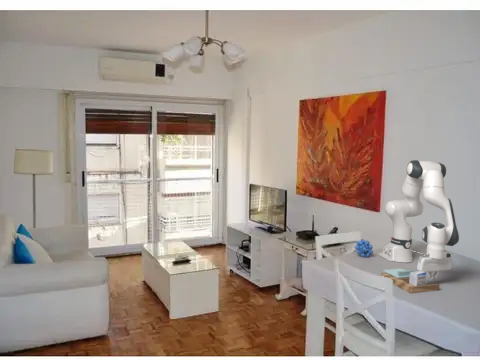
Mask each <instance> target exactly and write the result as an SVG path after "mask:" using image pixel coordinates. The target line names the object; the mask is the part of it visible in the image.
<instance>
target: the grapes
mask: <svg viewBox="0 0 480 360" xmlns="http://www.w3.org/2000/svg"><path fill="white" fill-rule="evenodd" d="M354 249H355V250H356V254H357V255H360V257H362V258H365V257H366V258H370V256H371V255H372V254H374V253H373V252H374V251H373V245H372V244H370V241H369V240H365V239H363V238H361V239H360V240H357V241H356V245H355V246H354Z"/></svg>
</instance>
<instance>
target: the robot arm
mask: <svg viewBox="0 0 480 360" xmlns="http://www.w3.org/2000/svg"><path fill="white" fill-rule="evenodd" d="M446 175H447V167H446V165H445V164H443V163H441V162H435V161H431V160H417V159H416V160H415V159H414V160H413V159H412V160H410V161H409V162H408V164H407V166H406V176H405V177H404V181H403V183H402V187H401V192H402V194H403V196H405V198H404V199H393V200H390V201H389V200H388V201H387V202H386V203H385V205H384V211H385V213H386V215H387V216H388V217H389V218H390V220H391V221H392V230H393V232H392V236H391V237H389V238H390V242H388V243H387V244H386V245H384V246H383V247H382V252H378V255H379V256H380V257H382V258H383V259H385V260H387V261H389V262H396V263H404V264H405V263H412V262H413V260H414V258H413V250H412V249H413V248H412V243H413V240H412V232H413V227H412V225H411V224H410V223H408V222H407V219H406V218H411V217H412V218H413V217H417V216H421V215H422V214H423V212H424V210H425V209H424V204H423V203H422V201H421V199H420V196H421V192H422V196H423V199H424V201H426V202H427V203H428V204H430V205H431V206H434V207H436V208H438V209H440V210H442V212H443V213H444V217H445V220H446V221H445V223H446V225H445V224H443V223H441V222H432V223H430V224H429V225H428V226H425V227H423V228H422V230H421V231H422V233H421V239H422V241H424V242H425V243H426V244H427V246H426V253H425V254H421V255H420V256H419V257H418V261H417V265H416V271H421V272H426V273H428V274H429V279H430V280H435V279H437V276H439V273H440V271H442V272H443V271H450V270H451V269H452V262H453V261H452V260H453V259H452V257H453V254H452V253H451V252H449V251H446V248H445V247H446V246H447V247H448V246H449V247H453V246H455V245H457V244H458V243H459V240H460V235H459V231H458V226H457V222H456V217H455V213H454V212H455V211H454V208H453V204H452V201H451V199H450V198H448V197H447V195H446V192H445V182H444V178H445V177H446Z"/></svg>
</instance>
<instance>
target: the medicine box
mask: <svg viewBox="0 0 480 360" xmlns="http://www.w3.org/2000/svg"><path fill="white" fill-rule="evenodd" d="M413 271H414V272H410V280H409V283H410V284H412V285H414V286H421V285H426V282H427V281H426V280H427V279H426V278H427V272H421V271H418V270H413Z"/></svg>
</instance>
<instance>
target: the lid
mask: <svg viewBox="0 0 480 360" xmlns="http://www.w3.org/2000/svg"><path fill="white" fill-rule="evenodd" d="M414 271H415V270H413V269H409V270H406V269H404V268H392V269H390V268H389V269H383V273H388V274H390V275H392V276H394V277H396V278H407V277H410V272H414Z"/></svg>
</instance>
